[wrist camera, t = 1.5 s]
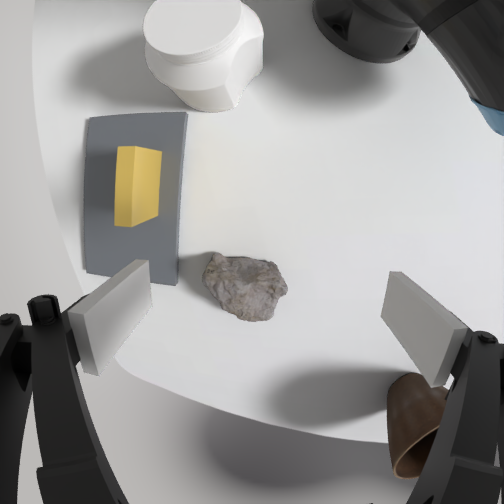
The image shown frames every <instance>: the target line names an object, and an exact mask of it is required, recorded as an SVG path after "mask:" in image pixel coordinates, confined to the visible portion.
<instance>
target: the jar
mask: <svg viewBox="0 0 504 504" xmlns="http://www.w3.org/2000/svg"><path fill="white" fill-rule="evenodd" d="M143 33H144V37H145V39H146V44H145V59H146V62H147V65H148V67H149V69H150V71H151V72H152V74H153V75H154V76H155V77H156V78H157V79H158V80H159V81H160V82H162V83H163V84H164V85H166V86H168V87H169V88H170V89H171V90H172V91H173V92H174V93H176V94H177V96H178V97H179V98H180V99H181V100H182V101H183V102H184V103H186V104H187V105H188V106H190V107H192V108H194V109H196V110H199V111H203V112H224V111H228V110H231V109H234V108H235V107H236V106H237V104H238V103H239V101H240V97H241V95H242V93H243V91H244V89H245V88H246V86H247V85H248V84H249V83H250V82H251V81H252V80H253V79H254V78H255V77H256V76H258V75H259V74H260V73H261V71H262V70H263V39H264V33H263V27H262V24H261V22H260V20H259V18H258V16H257V15H256V13H255V12H254V11H253V10H252V9H251V8H250V7H248V6H247V5H246V4H244V3H242V2H241V1H240V0H156V1H155V2H154V3H153V4H152V5H151V6H150V8H149V9H148V11H147V13H146V15H145V18H144V22H143Z"/></svg>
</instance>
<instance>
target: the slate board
mask: <svg viewBox="0 0 504 504" xmlns="http://www.w3.org/2000/svg"><path fill="white" fill-rule="evenodd" d="M187 119H188V114H187V113H186V112H161V113H137V114H122V115H110V116H100V117H91V118H90V119H89V127H88V136H87V147H86V159H85V176H84V242H85V259H86V272H87V273H89V274H95V275H101V276H108V277H113V276H114V275H115V274H117V273H118V272H119V271H121V270H122V269H123V268H125V267H126V266H127V265H129V264H130V263H132V262H133V261H134V260H136V259H140V260H149V273H150V283H156V284H164V285H172V286H176V284H177V283H178V244H179V219H180V200H181V185H182V171H183V159H184V148H185V138H186V128H187ZM119 146H138V147H143V148H148V149H153V150H157V151H162V159H161V171H160V186H159V206H158V216H157V217H154V218H152V219H149V220H147V221H145V222H142V223H140V224H138V225H136V226H133V227H122V226H114V216H115V181H116V164H117V151H118V147H119Z"/></svg>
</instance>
